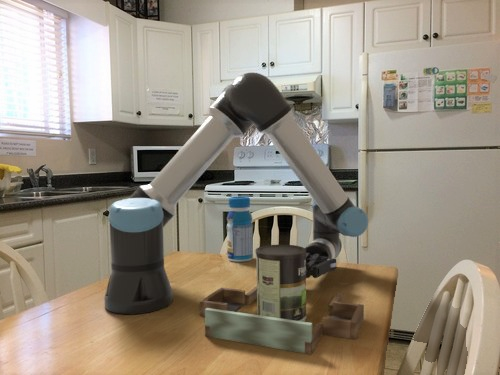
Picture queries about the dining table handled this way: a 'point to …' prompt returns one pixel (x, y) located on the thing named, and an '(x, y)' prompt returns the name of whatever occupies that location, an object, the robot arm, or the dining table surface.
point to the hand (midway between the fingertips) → (292, 279)
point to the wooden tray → (275, 322)
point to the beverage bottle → (239, 230)
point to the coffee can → (281, 282)
